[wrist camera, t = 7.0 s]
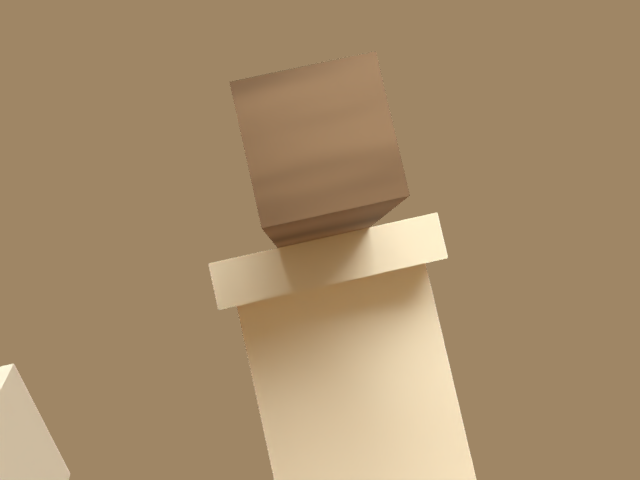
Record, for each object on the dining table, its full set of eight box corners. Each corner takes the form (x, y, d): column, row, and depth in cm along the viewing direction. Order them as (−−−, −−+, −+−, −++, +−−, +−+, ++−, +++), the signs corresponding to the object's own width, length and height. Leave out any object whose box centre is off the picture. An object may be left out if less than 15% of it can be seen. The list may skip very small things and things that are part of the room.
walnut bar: (286, 259, 40) (273, 199, 40) (346, 245, 40) (333, 186, 40) (261, 228, 16) (229, 81, 16) (409, 195, 16) (375, 50, 16)
